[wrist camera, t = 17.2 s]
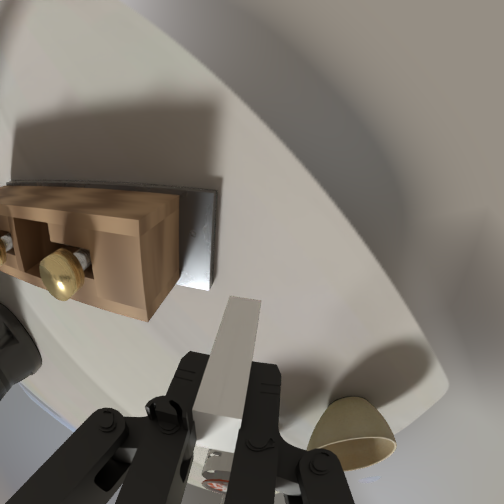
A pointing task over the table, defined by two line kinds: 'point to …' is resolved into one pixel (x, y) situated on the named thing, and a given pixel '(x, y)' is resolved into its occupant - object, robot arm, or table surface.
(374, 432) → the flower pot
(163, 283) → the wooden compartment box
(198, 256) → the rail
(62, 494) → the robot arm
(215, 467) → the french press
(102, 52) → the table surface
